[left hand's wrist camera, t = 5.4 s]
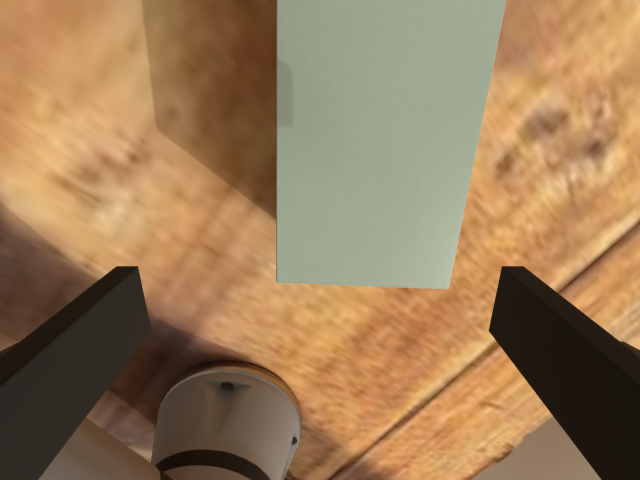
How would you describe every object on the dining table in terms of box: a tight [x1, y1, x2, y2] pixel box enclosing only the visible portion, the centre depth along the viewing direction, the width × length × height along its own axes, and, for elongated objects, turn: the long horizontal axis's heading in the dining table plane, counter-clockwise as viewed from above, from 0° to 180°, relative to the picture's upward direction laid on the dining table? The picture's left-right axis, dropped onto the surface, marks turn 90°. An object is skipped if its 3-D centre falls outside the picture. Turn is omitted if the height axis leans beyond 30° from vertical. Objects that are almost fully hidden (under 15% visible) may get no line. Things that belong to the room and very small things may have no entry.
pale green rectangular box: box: [276, 0, 506, 289], centre depth 23 cm, size 19×11×10 cm, turn 177°
